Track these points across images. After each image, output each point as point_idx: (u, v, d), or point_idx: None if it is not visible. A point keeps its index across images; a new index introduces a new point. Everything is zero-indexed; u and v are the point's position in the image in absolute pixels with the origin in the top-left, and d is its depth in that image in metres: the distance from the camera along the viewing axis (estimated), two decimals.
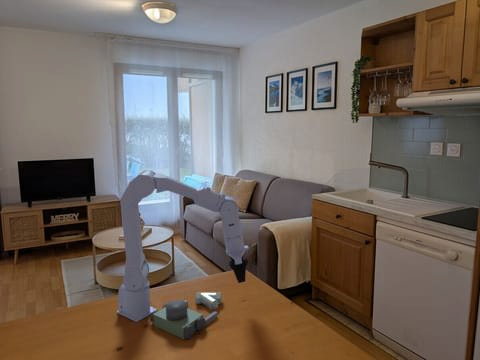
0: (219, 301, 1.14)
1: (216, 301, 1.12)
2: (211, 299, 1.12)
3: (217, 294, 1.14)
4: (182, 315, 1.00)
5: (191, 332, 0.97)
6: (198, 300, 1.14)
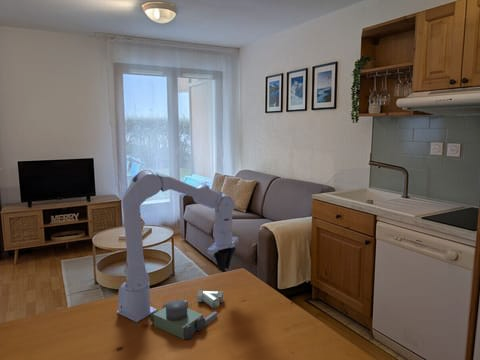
0: (220, 300, 1.15)
1: (217, 300, 1.13)
2: (212, 297, 1.13)
3: (219, 293, 1.15)
4: (182, 315, 1.00)
5: (191, 332, 0.97)
6: (200, 298, 1.15)
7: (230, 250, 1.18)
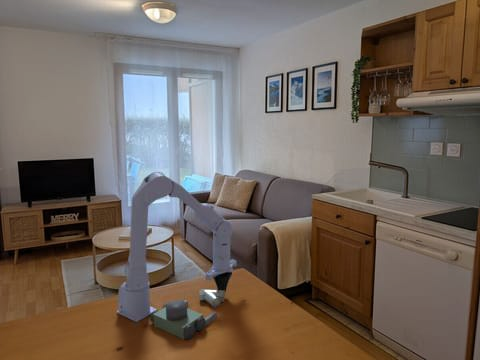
0: (221, 299, 1.15)
1: (218, 298, 1.13)
2: (213, 296, 1.13)
3: (220, 292, 1.16)
4: (182, 315, 1.00)
5: (191, 332, 0.97)
6: (201, 297, 1.16)
7: (227, 275, 1.18)
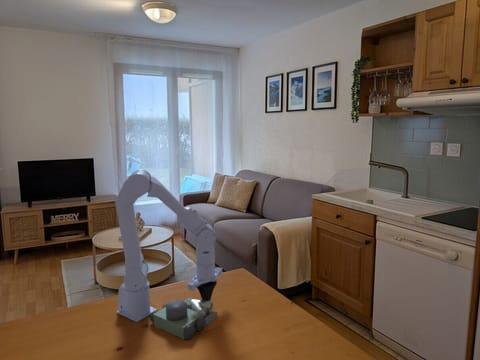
0: (208, 310, 1.08)
1: (204, 310, 1.06)
2: (199, 307, 1.07)
3: (207, 302, 1.09)
4: (182, 315, 1.00)
5: (191, 332, 0.97)
6: (187, 307, 1.09)
7: (211, 284, 1.11)
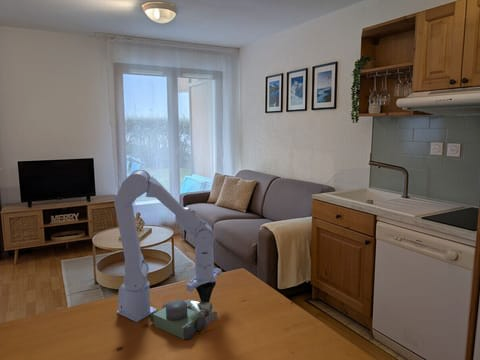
0: (207, 312, 1.07)
1: (203, 311, 1.06)
2: (198, 309, 1.06)
3: (206, 304, 1.08)
4: (182, 315, 1.00)
5: (191, 332, 0.97)
6: None
7: (210, 285, 1.10)
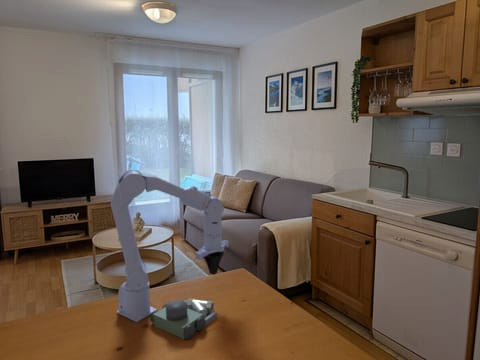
0: (209, 311, 1.08)
1: (204, 310, 1.06)
2: (200, 308, 1.07)
3: (208, 303, 1.09)
4: (182, 315, 1.00)
5: (191, 332, 0.97)
6: (188, 307, 1.10)
7: (218, 255, 1.14)
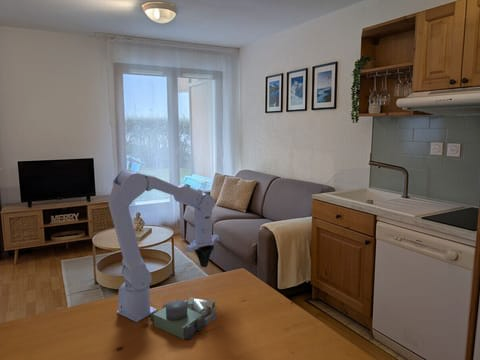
0: (210, 310, 1.09)
1: (206, 309, 1.07)
2: (201, 307, 1.07)
3: (209, 302, 1.09)
4: (182, 315, 1.00)
5: (191, 332, 0.97)
6: (190, 306, 1.10)
7: (208, 248, 1.19)
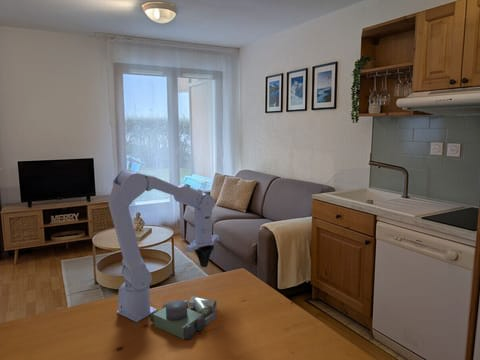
0: (211, 309, 1.09)
1: (207, 308, 1.08)
2: (202, 306, 1.08)
3: (210, 301, 1.10)
4: (182, 315, 1.00)
5: (191, 332, 0.97)
6: (191, 305, 1.11)
7: (208, 248, 1.19)
